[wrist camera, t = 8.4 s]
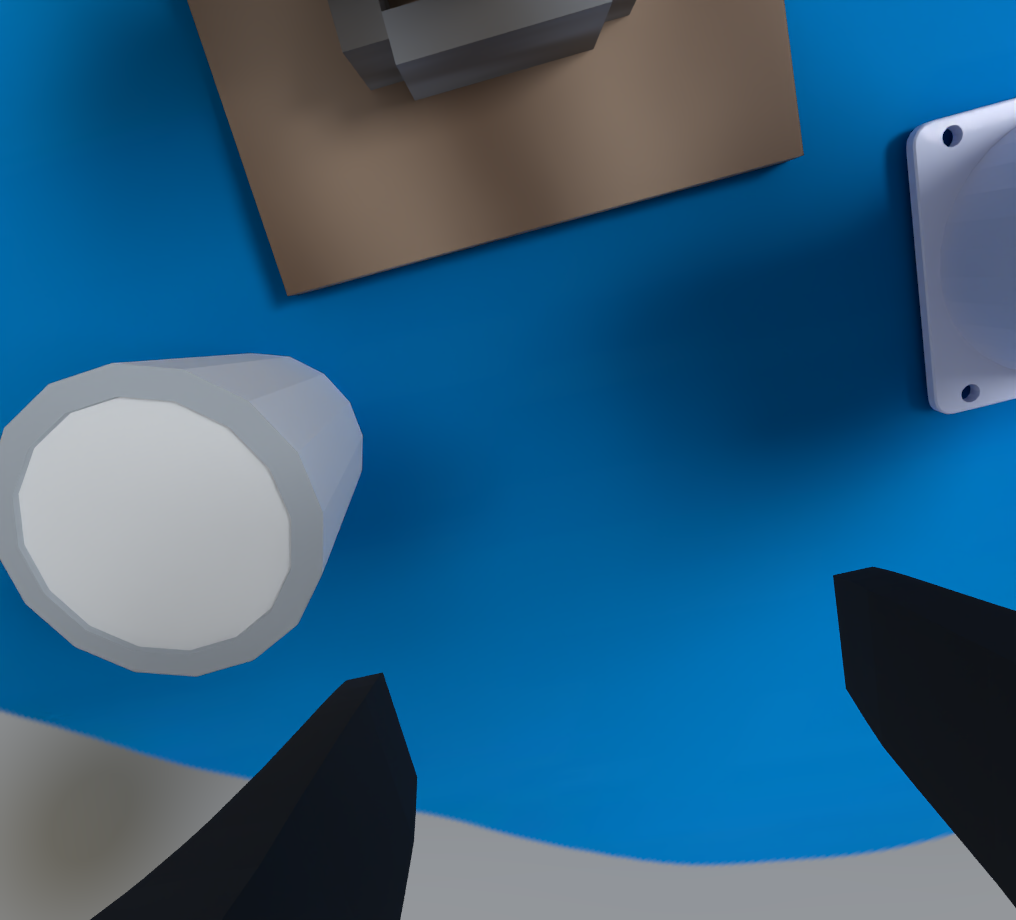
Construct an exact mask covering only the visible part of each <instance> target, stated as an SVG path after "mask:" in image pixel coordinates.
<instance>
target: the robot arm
mask: <svg viewBox="0 0 1016 920" xmlns="http://www.w3.org/2000/svg"><path fill="white" fill-rule="evenodd" d="M946 128H948V129H949V130H950V131H952V134H953V140H952V143H951V144H950V146H949V147H947V146H946V145H945V144H944V143H943V140H942V137H943V132H944V131H945V130H946ZM906 152H907V164H908V175H909V186H910V198H911V209H912V220H913V232H914V243H915V254H916V266H917V277H918V288H919V300H920V311H921V322H922V334H923V345H924V357H925V368H926V379H927V391H928V400H929V403H930V406H931V407H932V408H933V409H934V410H936V411H939V412H942V413H945V414H954V413H958V412H962V411H966V410H970V409H974V408H979V407H983V406H987V405H991V404H995V403H999V402H1003V401H1007V400H1011V399H1015V398H1016V98H1014V99H1010V100H1007V101H1003V102H999V103H996V104H992V105H988V106H985V107H981V108H977V109H974V110H970V111H966V112H963V113H959V114H955V115H952V116H948V117H944V118H941V119H937V120H933V121H930V122H927V123H924V124H922V125H920V126H918V127H916V128H915V129H914V130H913V131H912V132H911V133H910V136H909V138H908V140H907V146H906ZM968 385H970V388H971V390H970V394H969V395H968V396H967V397H966V398H964V399H962V396H961V394H962V390H963V389H964V388H965V387H966V386H968ZM833 578H834V587H835V596H836V605H837V614H838V622H839V631H840V640H841V649H842V658H843V667H844V675H845V684H846V689H847V691H848V692H849V694H850V696H851V697H852V699H853V701H854V702H855V704H856V705H857V707H858V709H859V710H860V712H861V713H862V715H863V717H864V718H865V720H866V721H867V723H868V724H869V726H870V728H871V729H872V731H873V732H874V734H875V735H876V737H877V738H878V740H879V741H880V743H881V744H882V746H883V747H884V748H885V749H886V751H887V752H888V753H889V754H890V756H891V757H892V758H893V759H894V761H895V762H896V763H897V764H898V766H899V767H900V768H901V769H902V770H903V772H904V773H905V774H906V775H907V776H908V778H909V779H910V780H911V781H912V783H913V784H914V785H915V786H916V787H917V789H918V790H919V791H920V792H921V793H922V795H923V796H924V797H925V798H926V799H927V801H928V802H929V803H930V804H931V805H932V807H933V808H934V809H935V810H936V811H937V813H938V814H939V815H940V816H941V817H942V819H943V820H944V821H945V822H946V823H947V825H948V826H949V827H950V828H951V829H952V831H953V832H954V833H955V834H956V835H957V836H958V838H959V839H960V840H961V841H962V842H963V844H964V845H965V846H966V847H967V848H968V850H969V851H970V852H971V853H972V854H973V856H974V857H975V858H976V859H977V860H978V862H979V863H980V864H981V865H982V866H983V867H984V869H985V870H986V871H987V872H988V873H989V875H990V876H991V877H992V878H993V880H994V881H995V882H996V883H997V884H998V886H999V887H1000V888H1001V889H1002V891H1003V892H1004V893H1005V895H1006V896H1007V897H1008V898H1009V900H1010V901H1011V902H1012V904H1013V905H1014V906H1015V907H1016V611H1014V610H1011V609H1008V608H1005V607H1002V606H998V605H995V604H992V603H989V602H986V601H983V600H980V599H977V598H974V597H971V596H968V595H965V594H961V593H958V592H955V591H952V590H949V589H946V588H943V587H940V586H937V585H934V584H931V583H928V582H925V581H922V580H919V579H916V578H912V577H909V576H906V575H903V574H899V573H896V572H892V571H889V570H885V569H881V568H876V567H869V568H865V569H860V570H856V571H851V572H846V573H842V574H837V575H833ZM416 792H417V775H416V772H415V769H414V766H413V763H412V760H411V757H410V754H409V751H408V748H407V745H406V742H405V739H404V736H403V733H402V730H401V727H400V724H399V720H398V717H397V714H396V711H395V708H394V705H393V702H392V699H391V696H390V693H389V690H388V687H387V684H386V681H385V678H384V675H383V673H379V674H374V675H369V676H365V677H360V678H356V679H351V680H346V681H345V682H344V683H343V684H342V685H341V686H340V687H339V688H338V689H337V690H336V691H335V692H334V693H333V694H332V695H331V696H330V697H329V698H328V699H327V700H326V701H325V702H324V703H323V704H322V705H321V706H320V707H319V708H318V709H317V711H316V712H315V713H314V714H313V715H312V716H311V717H310V718H309V719H308V720H307V721H306V722H305V724H304V725H303V726H302V727H301V728H300V729H299V730H298V731H297V732H296V733H295V734H294V735H293V736H292V737H291V739H290V740H289V741H288V742H287V743H286V744H285V745H284V746H283V747H282V748H281V749H280V750H279V751H278V752H277V754H276V755H275V756H274V757H273V758H272V759H271V760H270V761H269V762H268V763H267V764H266V765H265V766H264V767H263V768H262V769H261V770H260V771H259V772H258V773H257V774H256V775H255V776H254V777H253V778H252V779H251V780H250V781H249V782H248V783H247V784H246V785H245V786H244V787H243V788H242V789H241V790H240V791H239V792H238V793H237V794H236V795H235V796H234V797H233V798H232V799H231V800H230V801H229V802H228V803H227V804H226V805H225V806H224V807H223V808H222V809H221V810H220V811H219V812H218V813H217V814H216V815H215V816H214V817H213V818H212V819H211V820H210V821H209V822H208V823H206V824H205V825H204V826H203V827H202V828H201V829H200V830H199V831H198V832H197V833H196V834H195V835H193V836H192V837H191V838H190V839H189V840H188V841H187V842H186V843H185V844H183V845H182V846H181V847H180V848H179V849H178V850H177V851H175V852H174V853H173V854H172V855H171V856H170V857H168V858H167V859H166V860H165V861H164V862H162V863H161V864H160V865H159V866H158V867H157V868H155V869H154V870H153V871H152V872H151V873H149V874H148V875H147V876H146V877H145V878H144V879H142V880H141V881H140V882H139V883H138V884H136V885H135V886H134V887H132V888H131V889H130V890H129V891H128V892H126V893H125V894H124V895H122V896H121V897H120V898H118V899H117V900H116V901H114V902H113V903H112V904H110V905H109V906H108V907H106V908H105V909H104V910H102V911H101V912H100V913H98V914H97V915H96V916H94V917H93V918H92V919H91V920H400V917H401V912H402V907H403V901H404V896H405V890H406V884H407V878H408V873H409V867H410V860H411V855H412V848H413V843H414V831H415V815H416Z"/></svg>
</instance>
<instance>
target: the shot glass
mask: <svg viewBox="0 0 1016 920" xmlns="http://www.w3.org/2000/svg"><path fill="white" fill-rule="evenodd" d="M362 449H363V435H362V433H361V430H360V427H359V425H358V422H357V420H356V417H355V414H354V412H353V409H352V407H351V404H350V402H349V401H348V400H347V398H346V397H345V396H344V395H343V394H342V393H341V392H340V391H339V390H338V389H337V388H336V386H335V385H334V384H333V383H332V382H331V381H330V380H329V379H328V378H327V377H326V376H325V374H323V373H321V372H319V371H317V370H315V369H313V368H311V367H309V366H307V365H305V364H303V363H301V362H299V361H297V360H295V359H293V358H291V357H288V356H277V355H266V354H254V353H248V354H234V355H220V356H206V357H192V358H178V359H164V360H150V361H135V362H121V363H111V364H108V365H105V366H102V367H99V368H96V369H93V370H90V371H87V372H84V373H81V374H78V375H75V376H72V377H69V378H66V379H63V380H60V381H57V382H54V383H51V384H48V385H47V386H46V387H45V388H44V389H43V390H42V391H41V392H40V393H39V394H38V395H37V396H36V397H35V398H34V399H33V400H32V401H31V402H30V403H29V404H28V405H27V406H26V407H25V408H24V409H23V410H22V411H21V412H20V413H19V414H18V415H17V416H16V417H15V418H14V419H13V420H12V421H11V422H10V423H9V424H8V425H7V426H6V427H5V428H4V431H3V434H2V437H1V440H0V560H1V561H2V563H3V565H4V567H5V569H6V570H7V572H8V574H9V576H10V577H11V579H12V581H13V583H14V584H15V586H16V588H17V590H18V591H19V593H20V595H21V597H22V599H23V600H24V602H25V604H26V605H27V606H29V607H30V608H31V609H32V610H33V611H34V612H36V613H37V614H38V615H39V616H40V617H41V618H42V619H44V620H45V621H46V622H47V623H48V624H49V625H50V626H52V627H53V628H54V629H55V630H56V631H57V632H59V633H60V634H61V635H62V636H63V637H64V638H65V639H67V640H68V641H69V642H70V643H71V644H72V645H73V646H75V647H77V648H79V649H81V650H84V651H86V652H89V653H91V654H93V655H96V656H98V657H100V658H103V659H105V660H108V661H110V662H112V663H115V664H117V665H119V666H122V667H124V668H127V669H129V670H131V671H134V672H143V673H156V674H169V675H183V676H196V677H197V676H200V675H204V674H207V673H211V672H214V671H218V670H221V669H225V668H228V667H232V666H235V665H239V664H242V663H246V662H249V661H252V660H254V659H256V658H257V657H258V656H259V655H261V654H262V653H263V652H264V651H265V650H267V649H268V648H269V647H270V646H272V645H273V644H274V643H275V642H277V641H278V640H279V639H280V638H282V637H283V636H284V635H285V634H287V633H288V632H289V631H290V630H291V629H293V628H294V627H295V626H296V625H298V623H299V621H300V618H301V616H302V614H303V612H304V610H305V608H306V606H307V604H308V602H309V600H310V598H311V596H312V594H313V592H314V590H315V588H316V586H317V584H318V582H319V580H320V577H321V575H322V573H323V571H324V568H325V565H326V563H327V560H328V558H329V555H330V552H331V550H332V547H333V545H334V542H335V539H336V537H337V534H338V532H339V529H340V526H341V524H342V521H343V519H344V516H345V513H346V511H347V508H348V506H349V503H350V500H351V498H352V495H353V493H354V490H355V487H356V485H357V482H358V480H359V477H360V474H361V472H362Z"/></svg>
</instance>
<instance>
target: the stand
mask: <svg viewBox="0 0 1016 920" xmlns="http://www.w3.org/2000/svg"><path fill="white" fill-rule="evenodd" d="M187 1H188V4H189V7H190V10H191V13H192V16H193V19H194V22H195V25H196V28H197V31H198V34H199V37H200V39H201V42H202V45H203V48H204V51H205V54H206V57H207V60H208V63H209V66H210V69H211V72H212V75H213V78H214V81H215V84H216V87H217V89H218V92H219V95H220V98H221V101H222V104H223V107H224V110H225V113H226V116H227V119H228V122H229V125H230V128H231V131H232V134H233V137H234V140H235V142H236V145H237V148H238V151H239V154H240V157H241V160H242V163H243V166H244V169H245V172H246V175H247V178H248V181H249V184H250V187H251V190H252V193H253V195H254V198H255V201H256V204H257V207H258V210H259V213H260V216H261V219H262V222H263V225H264V228H265V231H266V234H267V237H268V240H269V243H270V246H271V248H272V251H273V254H274V257H275V260H276V263H277V266H278V269H279V272H280V275H281V278H282V281H283V284H284V287H285V290H286V293H287V296H292V295H300V294H303V293H307V292H311V291H314V290H318V289H322V288H325V287H329V286H333V285H336V284H340V283H344V282H347V281H351V280H355V279H358V278H362V277H366V276H369V275H373V274H377V273H380V272H384V271H388V270H391V269H395V268H399V267H402V266H406V265H410V264H413V263H417V262H421V261H424V260H428V259H432V258H435V257H439V256H443V255H446V254H450V253H454V252H457V251H461V250H465V249H468V248H472V247H476V246H479V245H483V244H487V243H490V242H494V241H498V240H501V239H505V238H508V237H512V236H516V235H519V234H523V233H527V232H530V231H534V230H538V229H541V228H545V227H549V226H552V225H556V224H560V223H563V222H567V221H571V220H574V219H578V218H582V217H585V216H589V215H593V214H596V213H600V212H604V211H607V210H611V209H615V208H618V207H622V206H626V205H629V204H633V203H637V202H640V201H644V200H648V199H651V198H655V197H659V196H662V195H666V194H670V193H673V192H677V191H681V190H684V189H688V188H692V187H695V186H699V185H703V184H706V183H710V182H714V181H717V180H721V179H725V178H728V177H732V176H736V175H739V174H743V173H747V172H750V171H754V170H758V169H761V168H765V167H769V166H772V165H776V164H780V163H783V162H787V161H790V160H792V159H795V158H797V157H800V156H802V155H804V154H803V146H802V138H801V130H800V122H799V114H798V106H797V98H796V91H795V83H794V75H793V67H792V59H791V51H790V43H789V35H788V28H787V20H786V12H785V4H784V0H187Z"/></svg>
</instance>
